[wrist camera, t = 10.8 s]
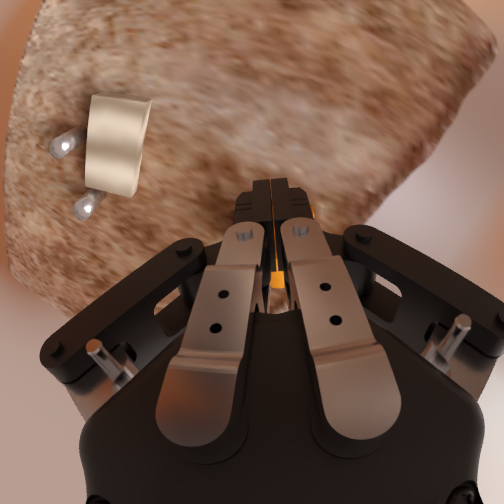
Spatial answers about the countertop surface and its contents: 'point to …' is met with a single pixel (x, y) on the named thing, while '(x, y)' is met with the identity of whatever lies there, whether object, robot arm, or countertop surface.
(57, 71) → the countertop surface
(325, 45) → the countertop surface
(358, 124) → the countertop surface
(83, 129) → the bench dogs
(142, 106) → the cream curved panel
